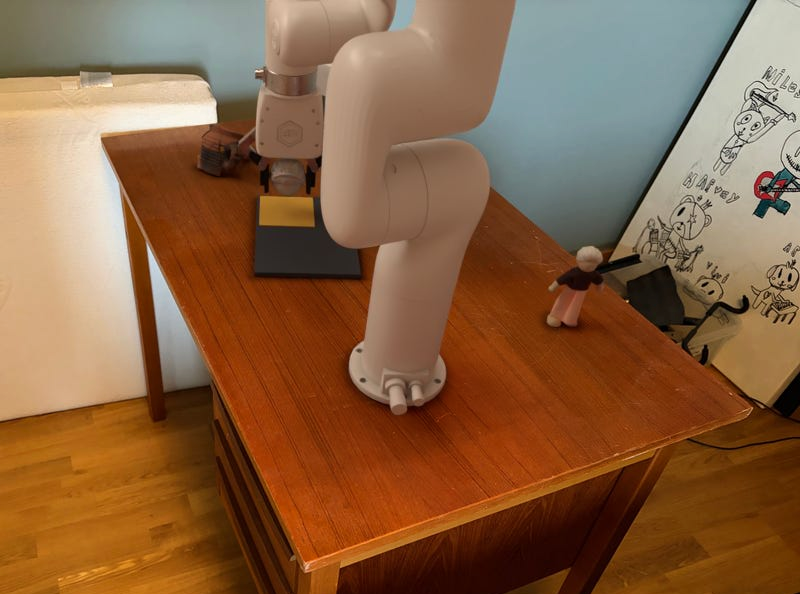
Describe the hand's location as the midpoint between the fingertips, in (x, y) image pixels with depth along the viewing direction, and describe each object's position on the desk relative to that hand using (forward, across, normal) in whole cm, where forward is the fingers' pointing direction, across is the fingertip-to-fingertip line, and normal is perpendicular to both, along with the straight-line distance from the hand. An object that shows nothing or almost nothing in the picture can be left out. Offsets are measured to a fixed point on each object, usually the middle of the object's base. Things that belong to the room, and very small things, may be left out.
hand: (287, 188), depth 112 cm
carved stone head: (+1, 0, 0) cm, 1 cm away
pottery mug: (+5, -11, +16) cm, 20 cm away
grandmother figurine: (+5, +40, -26) cm, 48 cm away
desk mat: (+5, +3, -6) cm, 8 cm away
